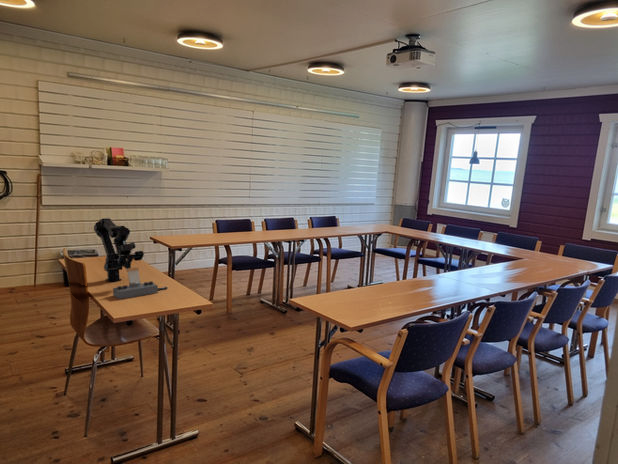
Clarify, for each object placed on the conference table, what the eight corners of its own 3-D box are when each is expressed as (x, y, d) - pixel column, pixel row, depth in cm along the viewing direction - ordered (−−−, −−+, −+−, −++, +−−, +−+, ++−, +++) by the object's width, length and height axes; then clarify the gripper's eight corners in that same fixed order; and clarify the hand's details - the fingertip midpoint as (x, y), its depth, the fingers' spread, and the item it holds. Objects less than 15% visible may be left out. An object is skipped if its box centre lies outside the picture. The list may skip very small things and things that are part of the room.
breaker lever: (129, 286, 223) (126, 268, 224) (139, 285, 226) (136, 267, 227) (130, 286, 221) (127, 268, 222) (141, 284, 225) (138, 267, 226)
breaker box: (113, 295, 220) (112, 285, 219) (163, 287, 238) (163, 277, 238) (118, 299, 214) (118, 289, 213) (170, 290, 233) (170, 280, 232)
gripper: (106, 239, 223) (114, 264, 217) (142, 236, 236) (151, 259, 229) (102, 251, 230) (109, 275, 224) (137, 248, 242) (145, 271, 236)
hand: (129, 270), depth 228 cm, fingers closed
